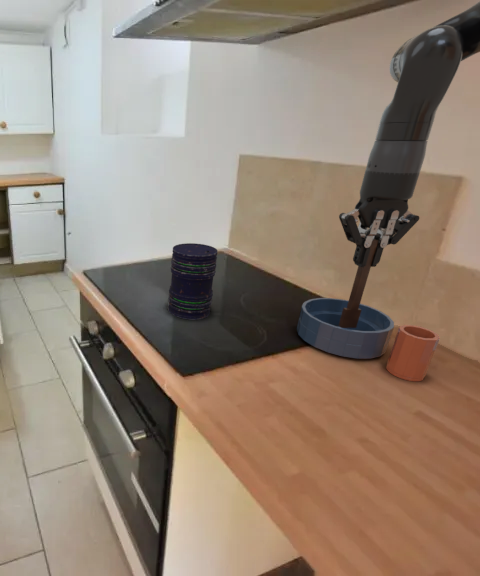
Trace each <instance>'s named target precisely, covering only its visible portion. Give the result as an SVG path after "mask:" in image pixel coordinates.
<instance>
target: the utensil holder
mask: <svg viewBox="0 0 480 576" xmlns="http://www.w3.org/2000/svg"><path fill="white" fill-rule="evenodd" d="M394 338H395V339H394V341H393V344H392V347H391V350H390V353H389V356H388V358H387V362H386V367H385V368H386V370H387V371H388V372H389V373H390V374H391V375H392V376H394V377H397V378H399V379H401V380H405V381H409V382H421V381H423V380H424V378H425V377H426V376H427V372H428V370H429V367H430V365H431V362H432V360H433V357H434V356H435V352H436V350H437V347H438V344H439V342H440V339H441V337H440V335H439V334H438V333H437V332H435V331H433V330H431V329H429V328H426V327H424V326H419V325H414V324H402V325H400V326H399V327H398V329H397V332H396V335H395V337H394Z"/></svg>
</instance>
